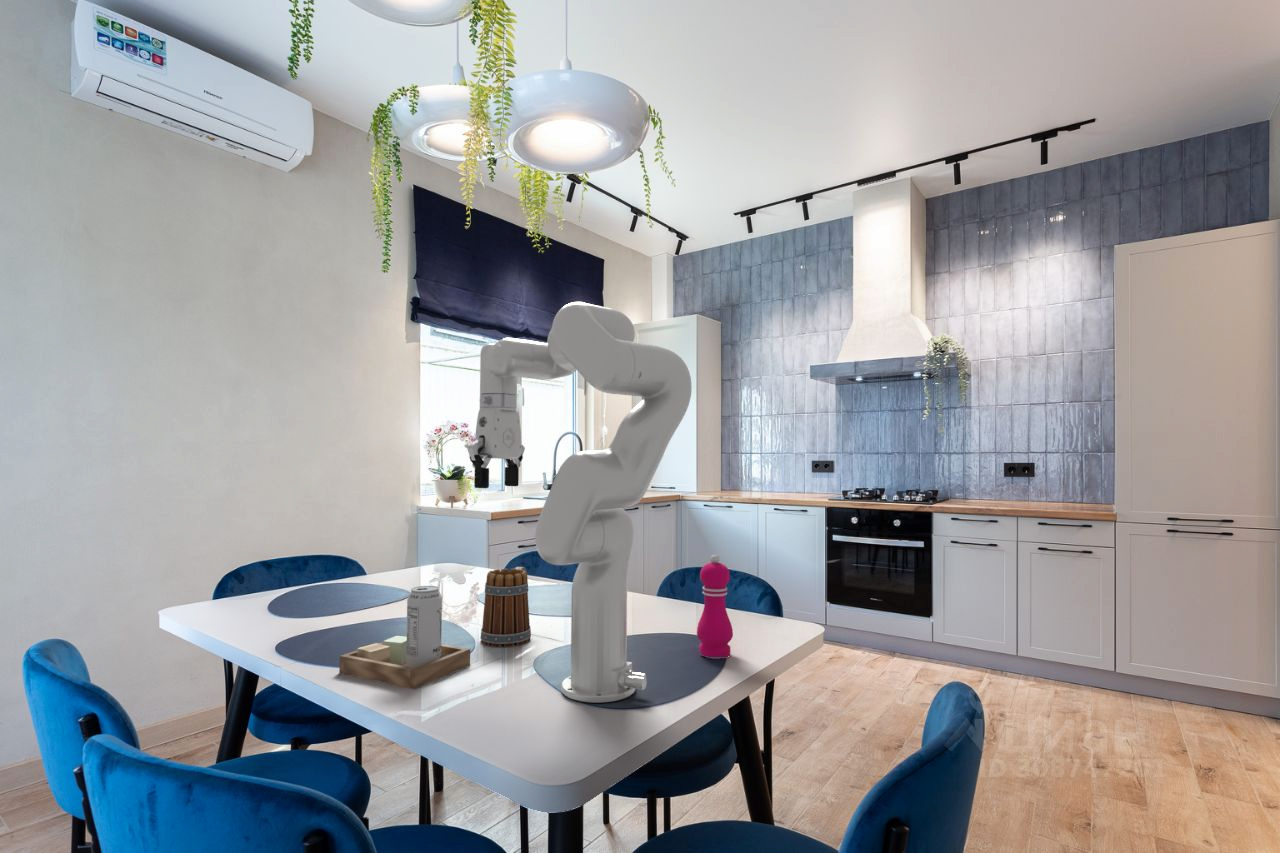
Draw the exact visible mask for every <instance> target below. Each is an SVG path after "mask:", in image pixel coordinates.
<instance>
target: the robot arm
mask: <svg viewBox="0 0 1280 853" xmlns="http://www.w3.org/2000/svg"><path fill="white" fill-rule="evenodd" d="M551 324H552V326H551V329H550V331H549V333H548V336H547V341H546V342H540V341H535V340H529V339H522V338H521V339H520V338H514V337H505V338H502V339H499V340H498V341H497V342H495V343H488V344H485V345H483V346H482V348H481V349H480V355H479V357H480V362H479V364H480V368H479V371H480V372H479V409H478V414H477V417H476V418H477V419H476V424H475V425H476V428H475V440H473V441H472V442H471V443H469V444H468V445H467V447H466V448H467V452H468V454H469V460H470V462H471V463H472V468H473V469H474V484H473V485H474V489H489V488H490V468H489V467H488V466H489V463H490V462H491V460H492V459H499V460H500V459H503V461H504V462H505V464H506V466H505V467H504V486H505V487H518V486H519V481H520V480H519V478H520V477H519V475H520V473H519V472H520V469H519V468H520V467H521V462H522V460H523V458H524V453H525V450H526V446H524V445H523V444H522V429H521V428H522V427H521V421H520V415H519V411H518V409H517V406H518V402H517V400H518V378H525V379H526V378H527V379H534V380H542V381H543V380H545V381H546V380H554V379H558V378H559V379H560V378H565V377H567V376H571V375H573V374H575V372H576V371H577V372H578V373H579V374H580V375H581V377H582V378H584V380H585V381H586V382H587V383H588V384H589V385H591V387H593V388H594V389H596V390H597V391H600V392H602V393H605V394H610V395H621V396H632V397H634V396H635V397H640V398H641V401H640V402H639V403H638V404H636V405H635V406H634V407H633V408H632V409H631V410H630V411H629V412H628V413H627V414H626V416H624V418H623V419H622V421H621V422H620V424H619V426H618V428H617V430H616V433H615V435H614V437H613V439H612V442H611V443H610V445H609V446H608V447H607V448H605V449H602V450H599V449H595V450H594V449H592V450H591V449H590V450H589V449H588V450H587V449H586V450H581V451H577V452H575V453H573V454H571V455H570V456H568V457H567V458H566V459H565V460H564V462H562V464H561V466H560V467H559V469H558V471H557V473H556V475H555V477H554V479H553V483H552V485H551V488H550V490H549V493H548V495H547V497H546V499H545V502H544V504H543V506H542V510H541V513H540V515H539V518H538V519H537V523H536V528H535V533H534V534H535V535H534V541H535V542H534V543H535V547H536V551H537V553H538V555H539V556H540V558H541V559H542V560H543V561H544V562H546V563H548V564H550V565H554V566H568V565H575V564H578V565H577V568H576V571H575V573H574V576H573V579H572V583H571V584H572V585H571V614H570V615H571V623H570V624H571V626H570V627H571V628H570V629H571V631H570V632H571V633H570V634H571V636H570V639H571V640H570V642H571V643H570V675H569V676H568V677H566V678H565V679H564V680H563V681H562V682H561V687H560V688H561V693H562V694H563V695H564V696H566V698H569V699H572V700H574V701H578V702H583V703H597V704H598V703H599V704H600V703H610V702H616V701H621V700H623V699H626V698H629V697H630V696H631V695H632V694H634V693H635V691H636V689H638V690H641V691H644V690H646V688H647V685H648V684H647V683H648V682H647V681H648V680H647V675H646V674H647V673H642V672H635V671H634V670H633V662H632V661H627V659H628V658H627V656H628V654H627V653H628V652H627V650H628V649H627V647H628V646H627V645H628V644H627V643H628V641H627V640H628V635H627V634H628V632H627V631H628V621H627V620H628V575H629V566H630V564H629V563H630V558H631V553H632V547H633V543H634V525H633V524H634V523H633V521H632V519H631V516H630V515H629V513H628V512H627V511H626V510H625V509H624V508H629V507H633V506H635V505H637V504H639V503H640V502H641V501H642V499H643V498H644V496H645V495H646V493H647V491H648V488H649V487H650V485H651V483H652V480H653V478H654V476H655V473H656V471H657V470H658V468H659V466H660V463H661V461H662V459H663V457H664V454H665V452H666V450H667V448H668V445H669V443H670V441H671V440H672V438H673V436H674V434H675V433H676V430H677V429H678V427H679V426H680V424H681V422H682V421H683V419H684V416H685V415H686V412H687V411H688V408H689V405H690V402H691V397H692V387H693V385H692V377H691V374H690V370H689V367H688V365H687V364H686V363H685V361H684V360H683V358H682V357H680V355H678V354H677V353H675V352H674V351H672V350H670V349H667V348H665V347H662V346H658V345H652V344H647V343H640V342H635V341H634V340H635V335H636V333H635V331H636V330H635V328H634V325H633V322H632V320H631V319H630V318H629V317H628V316H627V315H626V314H624V313H623V312H621V311H620V310H617V309H614V308H610V307H605V306H601V305H595V304H593V303H592V304H591V303H586V302H583V301H574V302H570V303H568V304H565V305H564V306H563V307H561V308H560V309H559V310H558V312H556V315H555V316H554V318H553V320H552V323H551Z"/></svg>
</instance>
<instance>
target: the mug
mask: <svg viewBox="0 0 1280 853" xmlns="http://www.w3.org/2000/svg"><path fill="white" fill-rule="evenodd" d="M528 579H529V578H528V572H527V569H526V568H525V566H516V567H514V568H510V570H509V568H502V569H497V568H496V569H494V570H489V571H488V572H487V574H486V581H485V583H484V584H485V585H484V593H485V594H484V603H483V605H484V606H483V616H482V626H481V629H480V643H481V644H483V646H487V647H492V648H513V647H518V646H519V647H520V646H522V645H525V644H528V643H529V642H530V641H531V637H532V632H531V631H532V629H531V625H530V608H529V581H528Z"/></svg>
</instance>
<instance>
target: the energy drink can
mask: <svg viewBox="0 0 1280 853" xmlns="http://www.w3.org/2000/svg"><path fill="white" fill-rule="evenodd" d="M439 589H440V588H439V586H437V585H436V586H435V585H421V586H415V587H412V588H410V594H409V595H408V597H407V600H406V601H407V602H406V603H407V604H406V637H407V644H406V667H411V668H417V667H419V666H422V665H424V664H427V663H429V662H432V661H435V660H437V659H440V658H441V644H442V633H443V632H442V630H443V629H442V625H443V624H442V623H443V622H442V618H443V617H442V616H443V596H442V594H441V592H440V590H439Z"/></svg>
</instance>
